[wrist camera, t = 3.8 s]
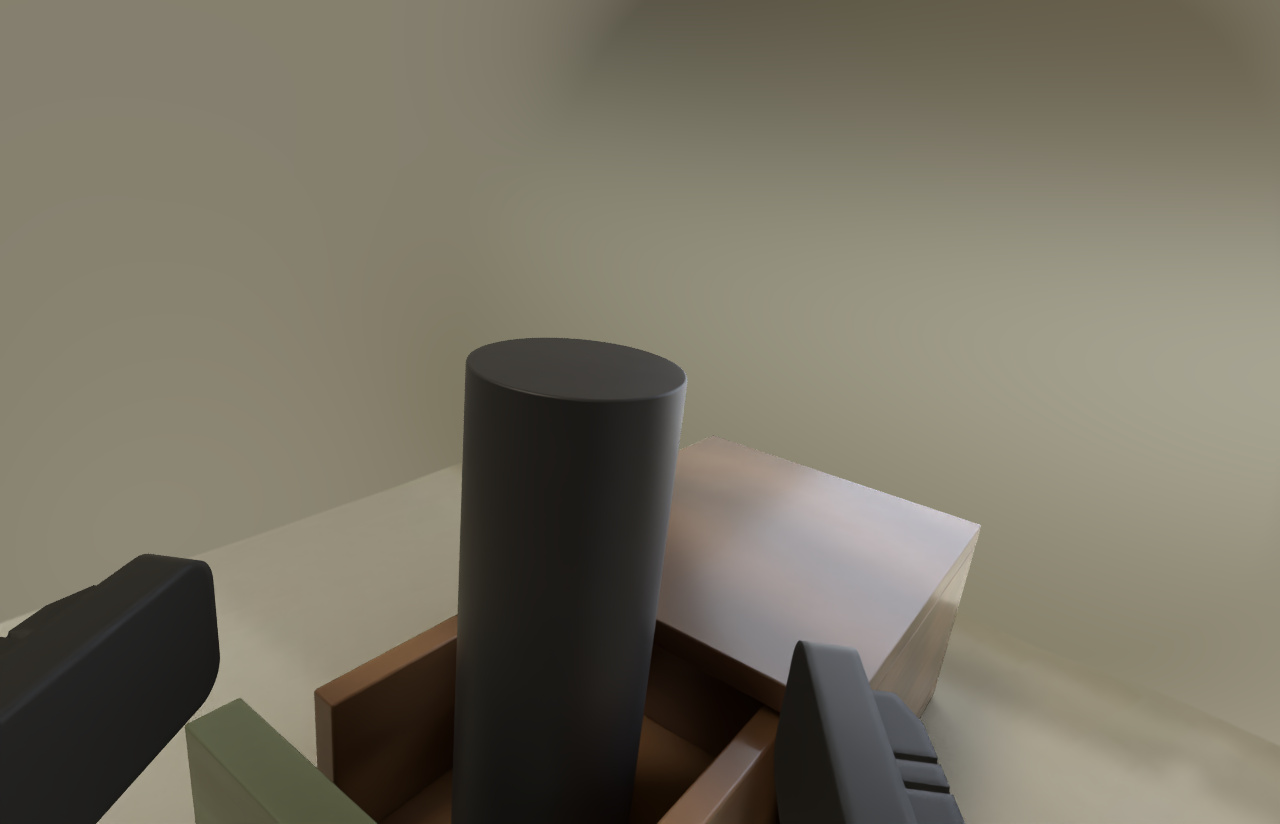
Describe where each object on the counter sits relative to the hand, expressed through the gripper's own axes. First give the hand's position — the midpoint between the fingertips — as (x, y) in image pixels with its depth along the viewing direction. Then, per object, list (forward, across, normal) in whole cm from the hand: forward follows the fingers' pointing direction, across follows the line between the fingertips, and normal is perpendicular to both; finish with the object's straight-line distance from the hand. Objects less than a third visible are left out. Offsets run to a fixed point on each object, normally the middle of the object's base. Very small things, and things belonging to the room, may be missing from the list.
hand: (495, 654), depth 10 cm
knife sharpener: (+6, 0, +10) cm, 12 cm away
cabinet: (+14, -6, +12) cm, 20 cm away
